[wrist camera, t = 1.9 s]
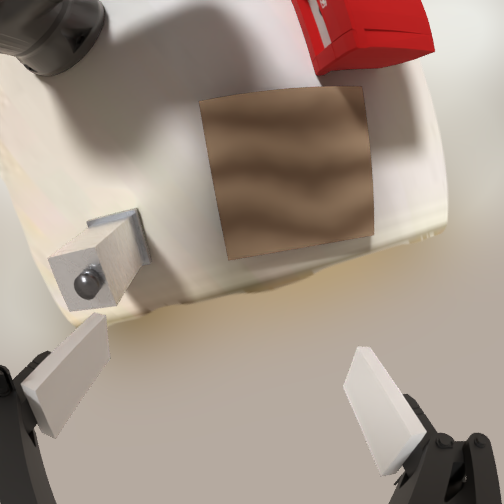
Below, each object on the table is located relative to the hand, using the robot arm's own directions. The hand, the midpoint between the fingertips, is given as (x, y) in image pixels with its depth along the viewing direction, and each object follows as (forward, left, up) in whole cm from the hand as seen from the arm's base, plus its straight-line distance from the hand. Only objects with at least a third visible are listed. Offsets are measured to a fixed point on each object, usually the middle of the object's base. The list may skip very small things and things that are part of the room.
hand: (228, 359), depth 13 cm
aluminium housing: (+1, -17, -28) cm, 33 cm away
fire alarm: (-26, +19, -28) cm, 43 cm away
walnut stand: (-5, +9, -28) cm, 30 cm away
